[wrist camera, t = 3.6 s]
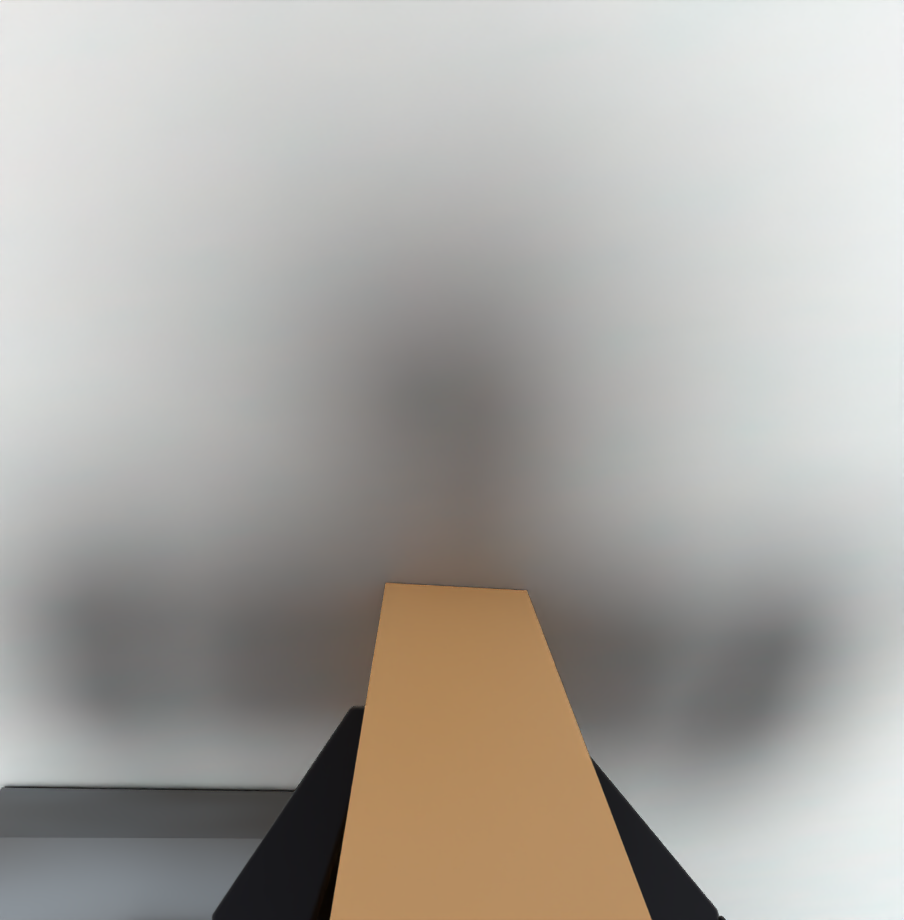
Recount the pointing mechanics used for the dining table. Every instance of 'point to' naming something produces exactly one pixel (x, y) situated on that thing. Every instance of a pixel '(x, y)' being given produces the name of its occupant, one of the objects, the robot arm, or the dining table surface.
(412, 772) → the connector plug
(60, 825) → the end holder
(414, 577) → the dining table surface
